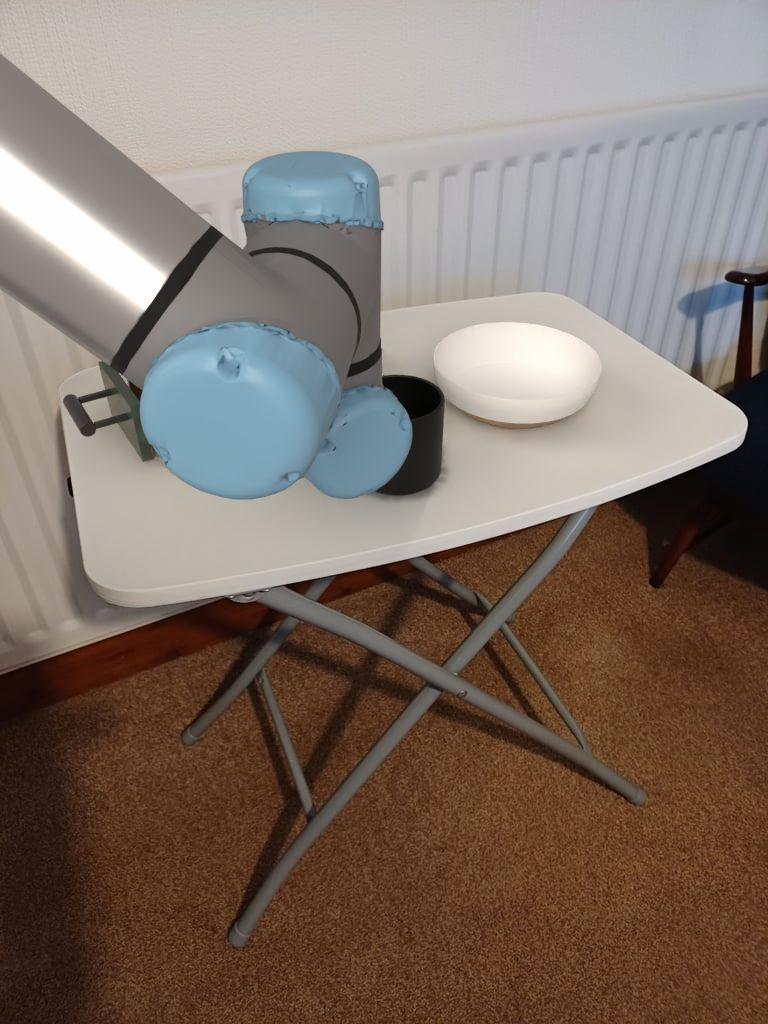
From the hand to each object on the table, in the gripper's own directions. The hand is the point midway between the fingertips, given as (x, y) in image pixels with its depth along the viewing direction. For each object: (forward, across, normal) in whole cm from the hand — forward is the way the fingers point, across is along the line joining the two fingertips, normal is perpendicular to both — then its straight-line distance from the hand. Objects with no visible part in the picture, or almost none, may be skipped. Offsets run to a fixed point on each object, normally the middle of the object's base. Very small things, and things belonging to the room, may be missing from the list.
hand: (159, 257), depth 73 cm
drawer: (+6, -1, -21) cm, 22 cm away
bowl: (-10, +36, -22) cm, 44 cm away
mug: (-14, +18, -22) cm, 32 cm away
